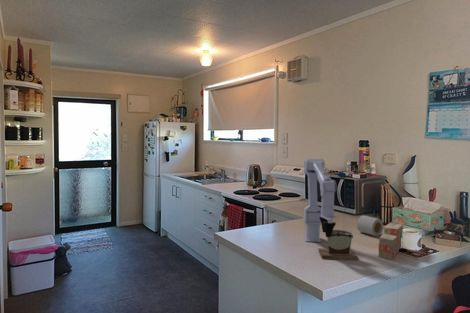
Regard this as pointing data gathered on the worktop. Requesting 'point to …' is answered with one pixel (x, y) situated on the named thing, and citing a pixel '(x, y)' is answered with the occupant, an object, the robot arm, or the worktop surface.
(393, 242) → the stack of blocks
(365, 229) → the toilet paper
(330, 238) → the food container
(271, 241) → the worktop surface
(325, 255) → the walnut base
